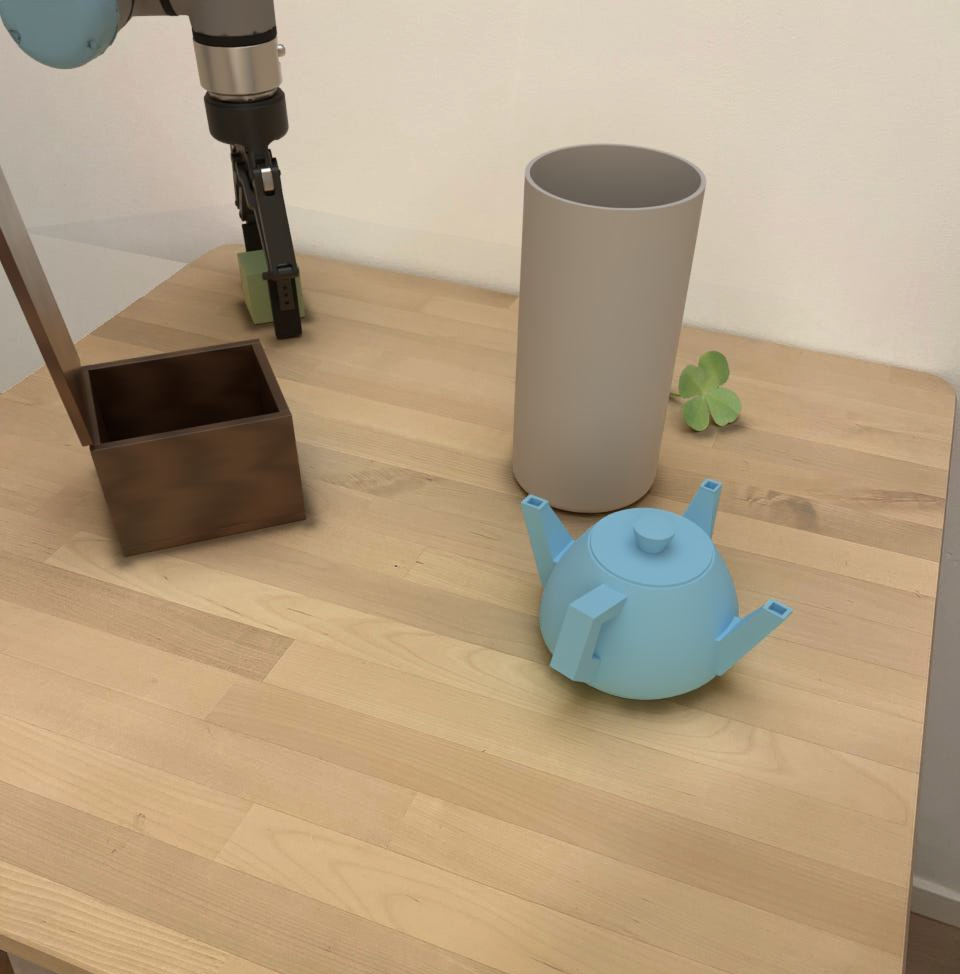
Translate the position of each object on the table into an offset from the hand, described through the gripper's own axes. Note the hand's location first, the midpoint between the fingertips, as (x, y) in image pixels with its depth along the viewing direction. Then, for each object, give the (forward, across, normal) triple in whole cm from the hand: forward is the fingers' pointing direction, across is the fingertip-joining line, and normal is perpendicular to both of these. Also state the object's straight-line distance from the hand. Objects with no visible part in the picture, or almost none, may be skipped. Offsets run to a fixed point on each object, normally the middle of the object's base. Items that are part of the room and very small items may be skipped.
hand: (275, 307), depth 105 cm
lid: (-18, -31, +20) cm, 41 cm away
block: (0, 0, 0) cm, 0 cm away
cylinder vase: (+1, -39, -19) cm, 43 cm away
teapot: (+1, -59, -14) cm, 61 cm away
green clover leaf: (+1, -34, -34) cm, 48 cm away
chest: (0, -31, +13) cm, 34 cm away
